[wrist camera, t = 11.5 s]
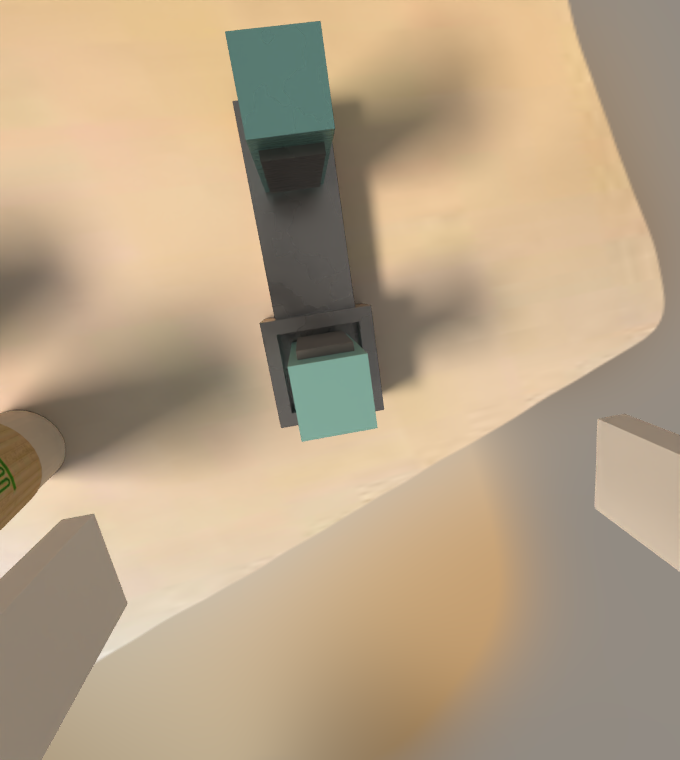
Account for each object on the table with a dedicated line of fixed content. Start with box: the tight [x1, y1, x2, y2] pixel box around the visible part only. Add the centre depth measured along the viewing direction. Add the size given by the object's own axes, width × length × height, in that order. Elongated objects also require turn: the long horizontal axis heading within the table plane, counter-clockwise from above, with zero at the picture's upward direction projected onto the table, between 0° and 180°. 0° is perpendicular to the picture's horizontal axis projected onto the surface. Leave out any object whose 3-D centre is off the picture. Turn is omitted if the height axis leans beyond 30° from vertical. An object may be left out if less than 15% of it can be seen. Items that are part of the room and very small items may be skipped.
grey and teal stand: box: [225, 21, 384, 428], centre depth 23 cm, size 22×8×11 cm, turn 9°
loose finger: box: [288, 330, 377, 442], centre depth 24 cm, size 5×4×9 cm
